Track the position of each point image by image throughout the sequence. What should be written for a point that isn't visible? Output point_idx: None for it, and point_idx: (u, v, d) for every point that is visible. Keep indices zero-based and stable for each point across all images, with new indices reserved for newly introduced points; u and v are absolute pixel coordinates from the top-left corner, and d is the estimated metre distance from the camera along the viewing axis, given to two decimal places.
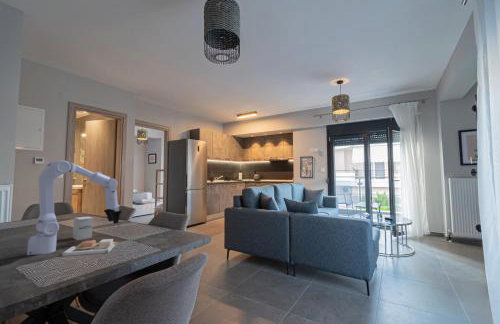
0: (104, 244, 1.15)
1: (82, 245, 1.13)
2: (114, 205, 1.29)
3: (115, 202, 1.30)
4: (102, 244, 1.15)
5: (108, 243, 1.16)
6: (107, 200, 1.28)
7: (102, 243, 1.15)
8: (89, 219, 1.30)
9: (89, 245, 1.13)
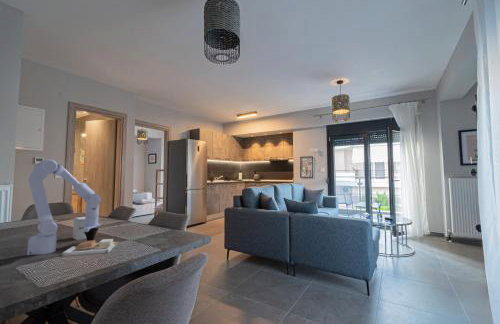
0: (104, 244, 1.15)
1: (81, 245, 1.12)
2: (90, 224, 1.16)
3: (92, 221, 1.17)
4: (102, 244, 1.15)
5: (108, 243, 1.16)
6: (85, 217, 1.17)
7: (102, 243, 1.15)
8: None
9: (88, 245, 1.13)
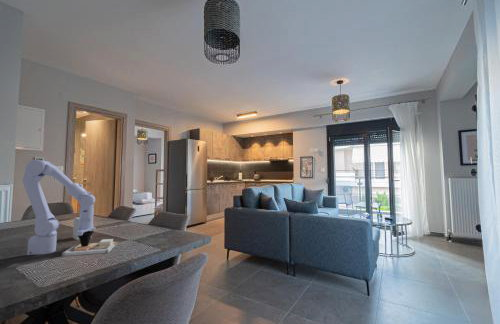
0: (104, 244, 1.15)
1: None
2: (84, 227, 1.09)
3: (86, 224, 1.10)
4: (102, 244, 1.15)
5: (108, 243, 1.16)
6: (79, 220, 1.10)
7: (102, 243, 1.15)
8: None
9: None
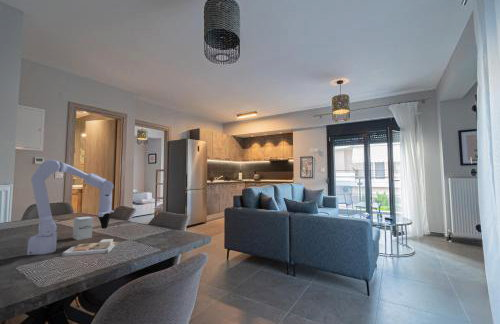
0: (104, 244, 1.15)
1: None
2: (104, 210, 1.20)
3: (106, 207, 1.20)
4: (102, 244, 1.15)
5: (108, 243, 1.16)
6: (99, 203, 1.21)
7: (102, 243, 1.15)
8: (89, 219, 1.30)
9: None
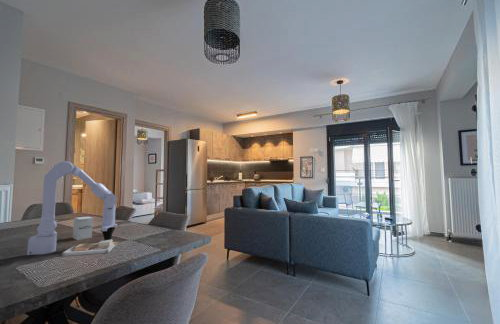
0: (103, 244, 1.14)
1: None
2: (107, 224, 1.18)
3: (109, 220, 1.19)
4: (101, 245, 1.14)
5: (107, 244, 1.15)
6: None
7: (101, 244, 1.14)
8: (89, 219, 1.30)
9: None
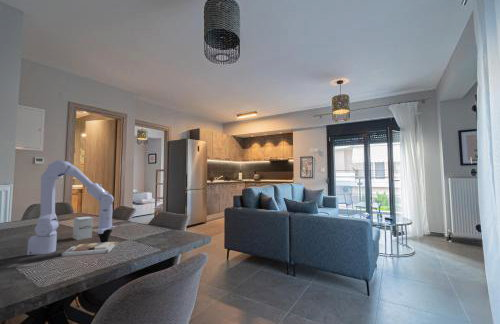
0: (100, 249, 1.09)
1: None
2: (104, 226, 1.13)
3: (106, 222, 1.14)
4: None
5: None
6: (99, 219, 1.14)
7: (98, 249, 1.09)
8: (89, 219, 1.30)
9: None
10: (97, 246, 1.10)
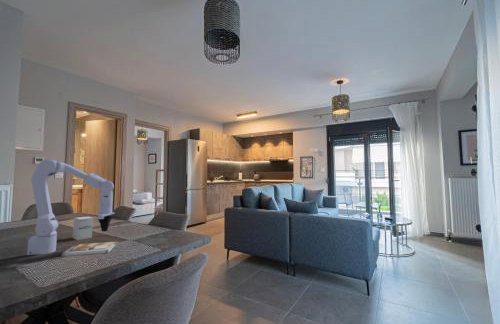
0: None
1: None
2: (104, 212, 1.14)
3: (106, 209, 1.15)
4: None
5: None
6: None
7: None
8: (89, 219, 1.30)
9: None
10: (96, 247, 1.08)
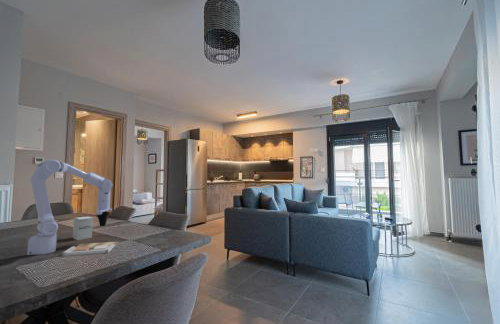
0: None
1: None
2: (102, 208, 1.22)
3: (104, 205, 1.23)
4: None
5: None
6: (98, 201, 1.23)
7: None
8: (89, 219, 1.30)
9: None
10: (96, 247, 1.08)
